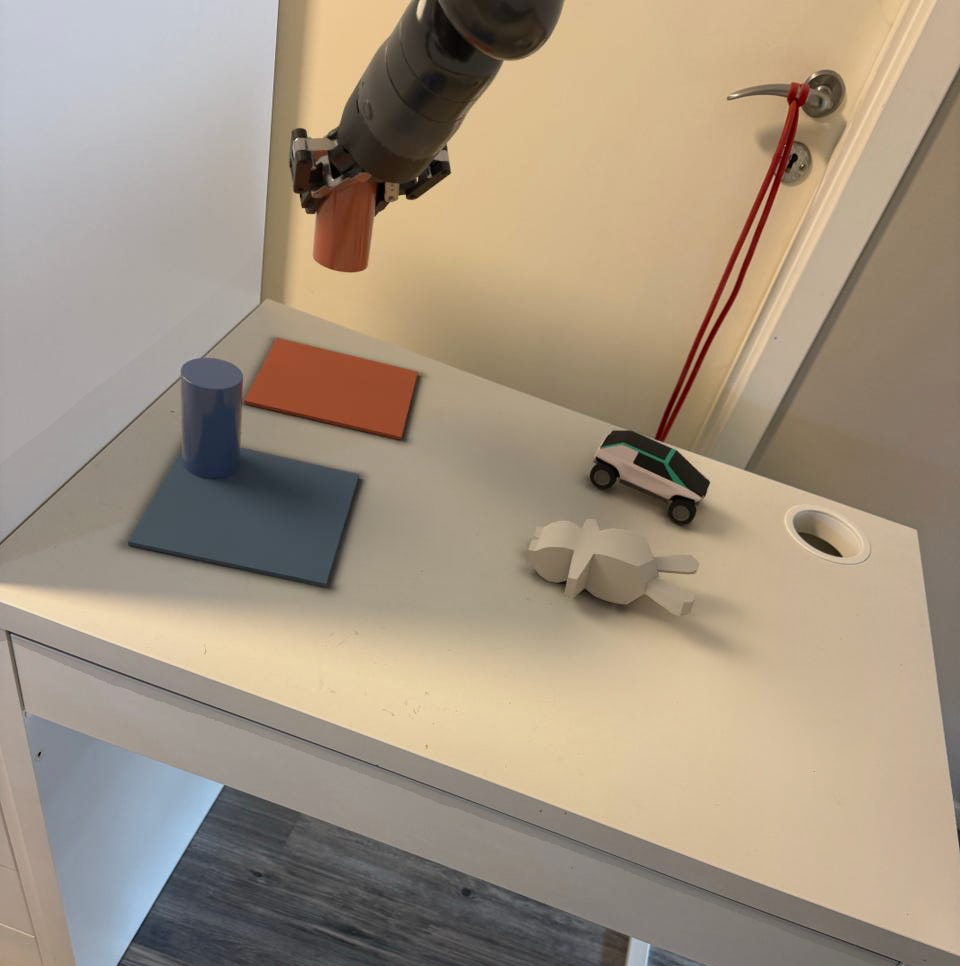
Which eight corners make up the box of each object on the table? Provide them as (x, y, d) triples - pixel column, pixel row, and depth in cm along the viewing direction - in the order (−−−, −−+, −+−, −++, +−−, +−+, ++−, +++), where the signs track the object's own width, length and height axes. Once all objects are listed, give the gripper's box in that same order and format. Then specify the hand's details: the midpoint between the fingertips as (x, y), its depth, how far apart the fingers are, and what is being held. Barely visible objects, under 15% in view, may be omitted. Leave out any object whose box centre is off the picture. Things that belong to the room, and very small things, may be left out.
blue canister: (174, 471, 77) (172, 380, 71) (191, 441, 81) (191, 352, 74) (231, 484, 78) (234, 394, 71) (246, 453, 81) (249, 365, 75)
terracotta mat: (243, 403, 88) (244, 400, 87) (276, 340, 98) (277, 337, 97) (400, 440, 89) (401, 436, 89) (417, 374, 99) (418, 371, 99)
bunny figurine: (546, 494, 81) (707, 534, 79) (538, 539, 84) (691, 577, 83) (523, 552, 74) (698, 597, 72) (515, 598, 78) (682, 642, 76)
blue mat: (127, 545, 70) (127, 541, 70) (189, 439, 82) (189, 435, 81) (325, 587, 72) (326, 583, 71) (358, 477, 83) (359, 474, 83)
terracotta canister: (307, 263, 80) (316, 145, 73) (318, 243, 84) (328, 129, 77) (363, 277, 81) (377, 161, 74) (372, 256, 84) (386, 144, 78)
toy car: (600, 457, 95) (615, 415, 92) (701, 503, 94) (722, 461, 90) (582, 482, 91) (598, 438, 88) (688, 530, 89) (709, 488, 86)
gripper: (484, 65, 68) (403, 168, 83) (306, 40, 62) (253, 157, 77) (498, 164, 69) (415, 248, 84) (324, 150, 62) (268, 244, 78)
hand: (338, 204), depth 80 cm, fingers closed on terracotta canister, 5 cm apart
